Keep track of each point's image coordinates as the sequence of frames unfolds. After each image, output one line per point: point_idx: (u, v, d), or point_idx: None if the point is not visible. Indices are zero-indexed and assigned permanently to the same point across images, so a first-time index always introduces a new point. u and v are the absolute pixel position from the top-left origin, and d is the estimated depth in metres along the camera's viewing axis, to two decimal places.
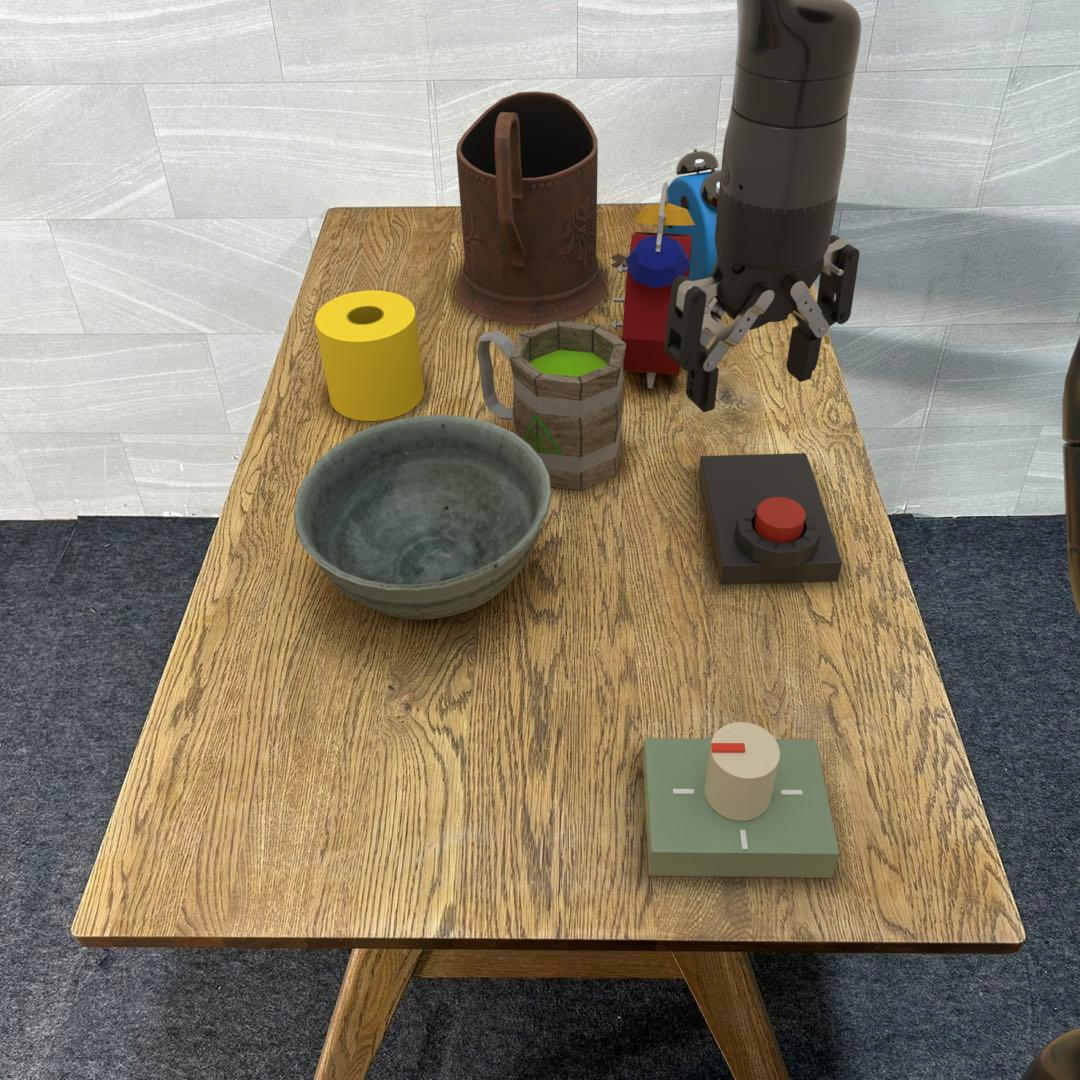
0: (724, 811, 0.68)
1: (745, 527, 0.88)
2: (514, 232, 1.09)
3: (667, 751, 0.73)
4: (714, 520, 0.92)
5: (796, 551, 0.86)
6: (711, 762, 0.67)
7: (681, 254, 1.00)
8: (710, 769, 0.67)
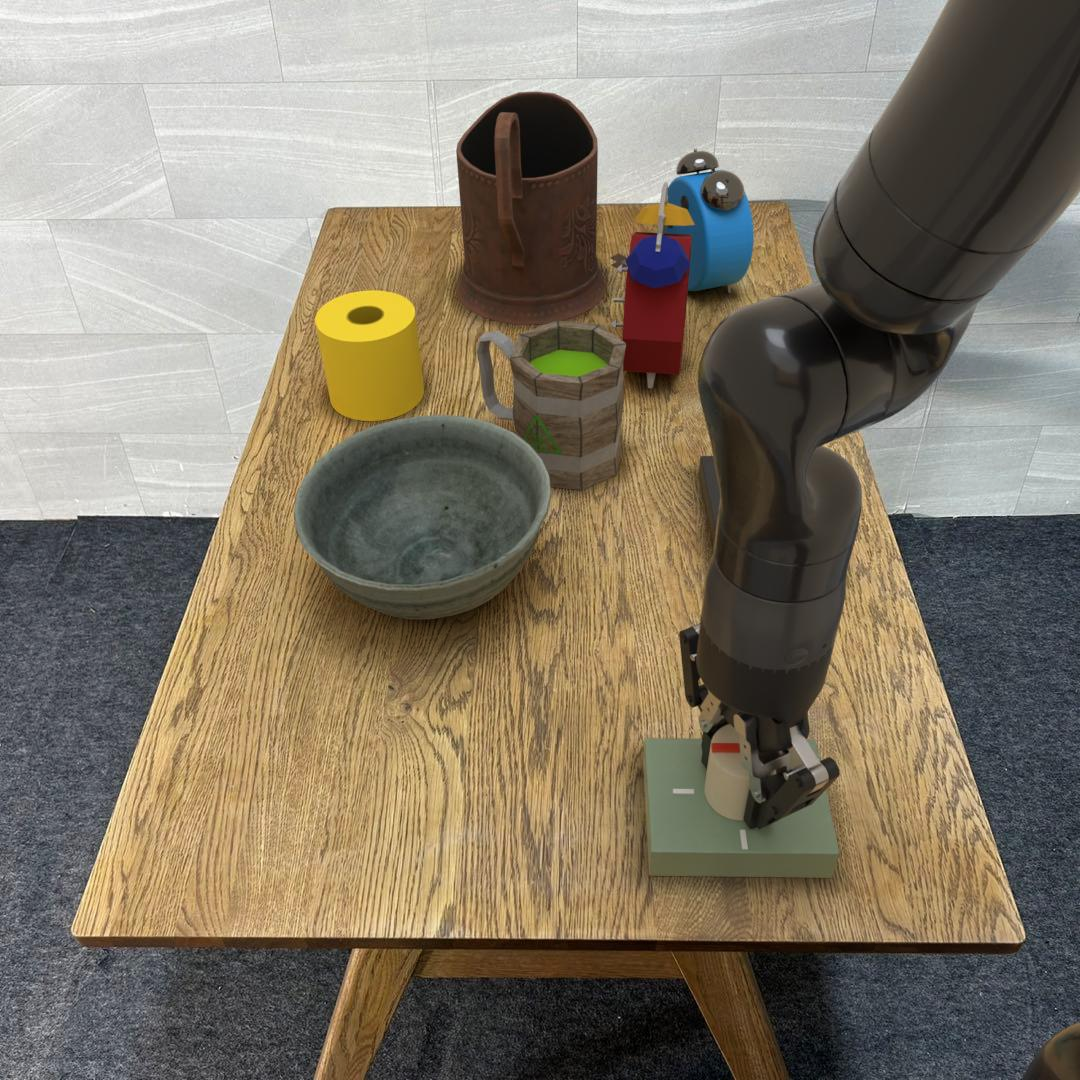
0: (724, 811, 0.68)
1: None
2: (514, 232, 1.09)
3: (667, 751, 0.73)
4: (714, 520, 0.92)
5: None
6: (711, 762, 0.67)
7: (681, 254, 1.00)
8: (710, 769, 0.67)
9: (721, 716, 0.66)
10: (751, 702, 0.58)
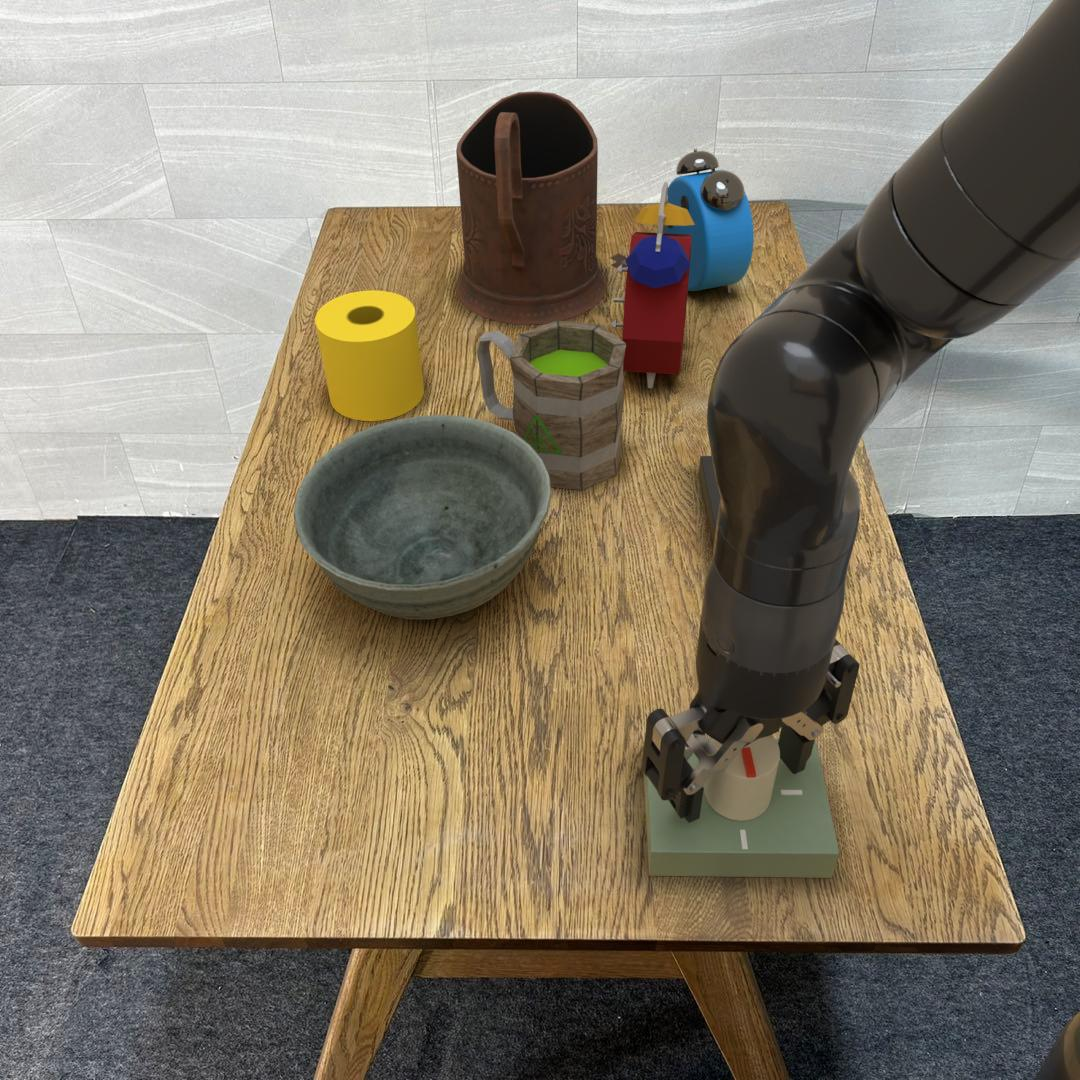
0: (769, 800, 0.69)
1: None
2: (514, 232, 1.09)
3: None
4: (714, 520, 0.92)
5: None
6: (758, 783, 0.66)
7: (681, 254, 1.00)
8: (757, 790, 0.66)
9: None
10: (827, 671, 0.60)
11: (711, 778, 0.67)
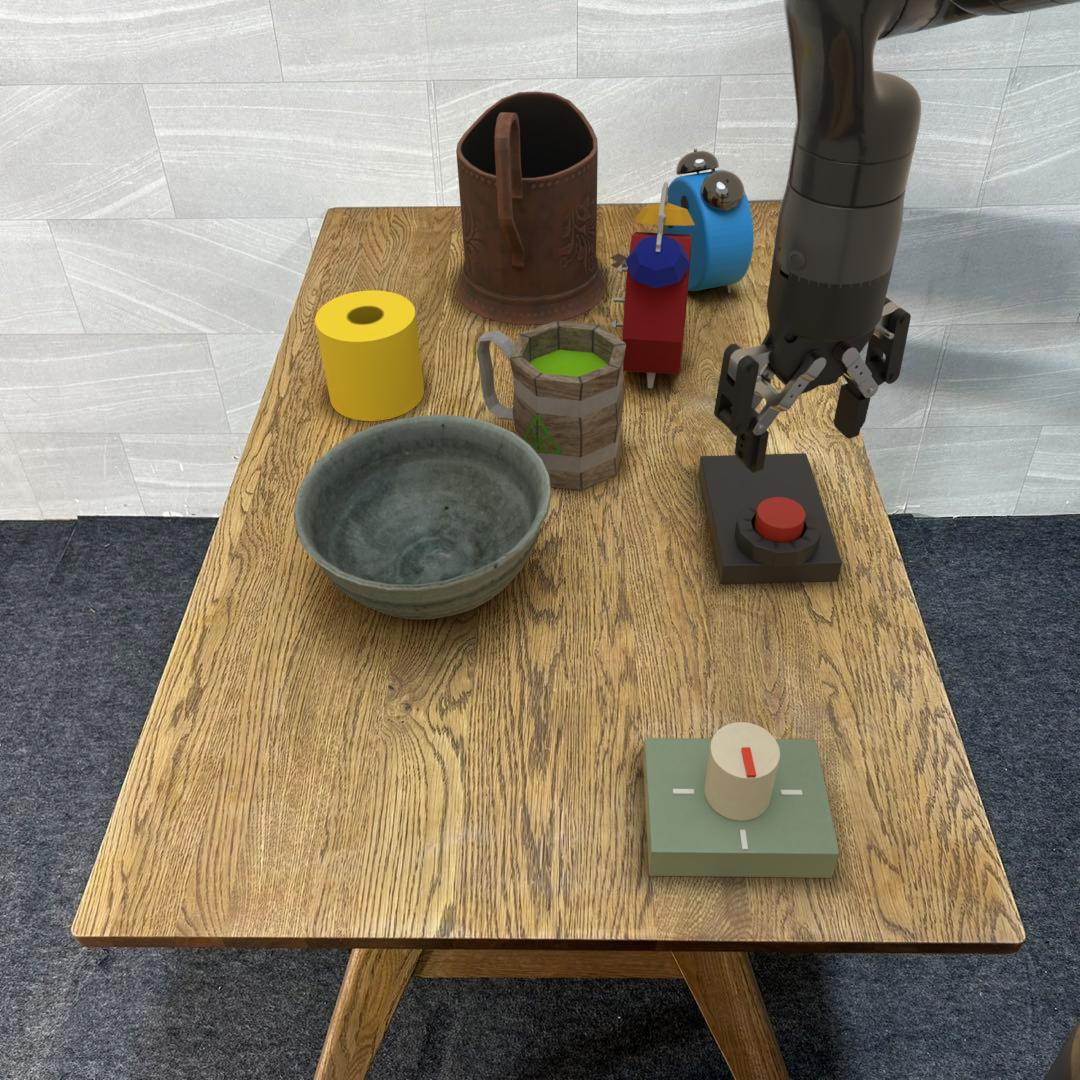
0: (769, 800, 0.69)
1: (745, 527, 0.88)
2: (514, 232, 1.09)
3: (667, 751, 0.73)
4: (714, 520, 0.92)
5: (796, 551, 0.86)
6: (758, 783, 0.66)
7: (681, 254, 1.00)
8: (757, 790, 0.66)
9: None
10: None
11: (711, 778, 0.67)
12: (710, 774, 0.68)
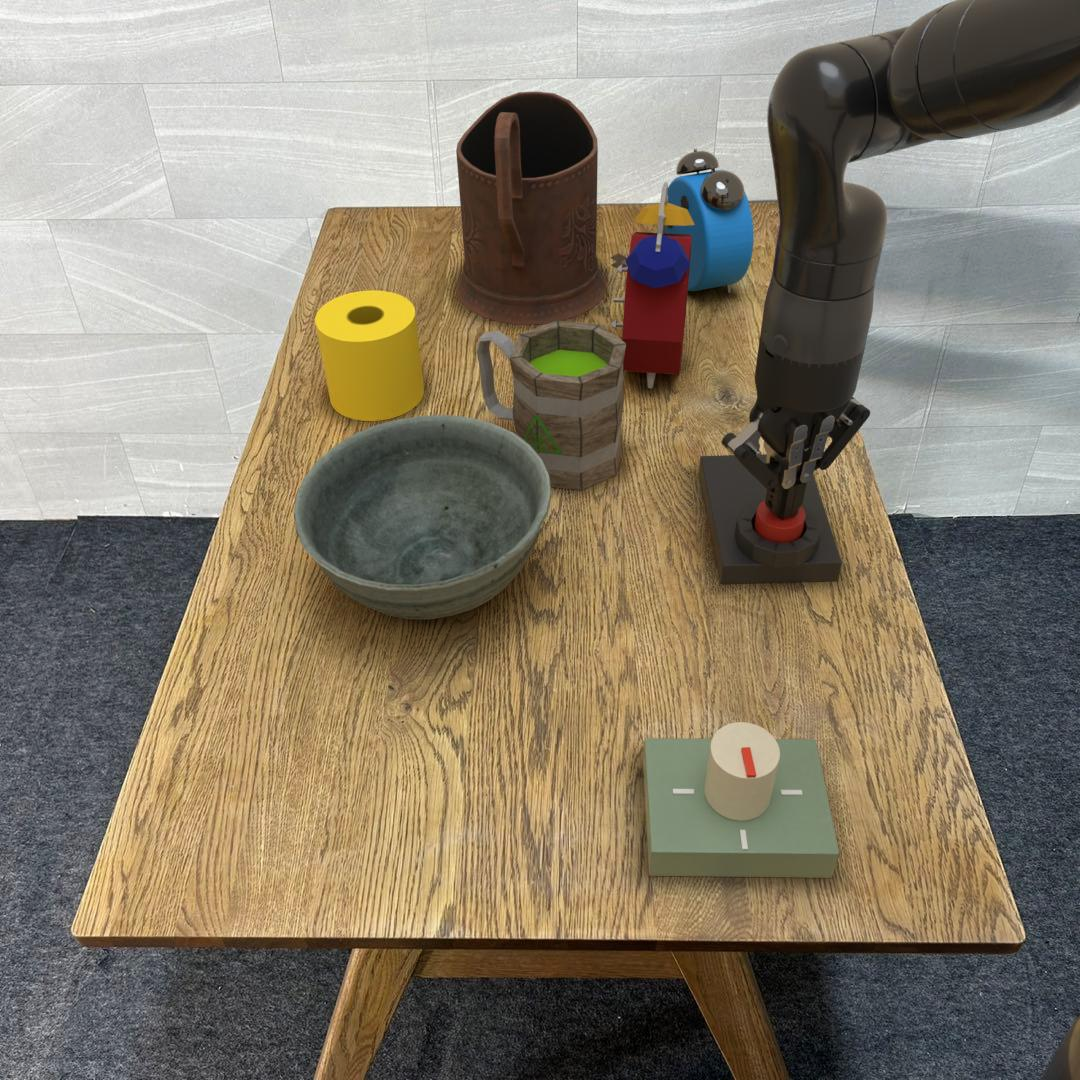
0: (769, 800, 0.69)
1: (745, 527, 0.88)
2: (514, 232, 1.09)
3: (667, 751, 0.73)
4: (714, 520, 0.92)
5: (796, 551, 0.86)
6: (758, 783, 0.66)
7: (681, 254, 1.00)
8: (757, 790, 0.66)
9: None
10: None
11: (711, 778, 0.67)
12: (710, 774, 0.68)
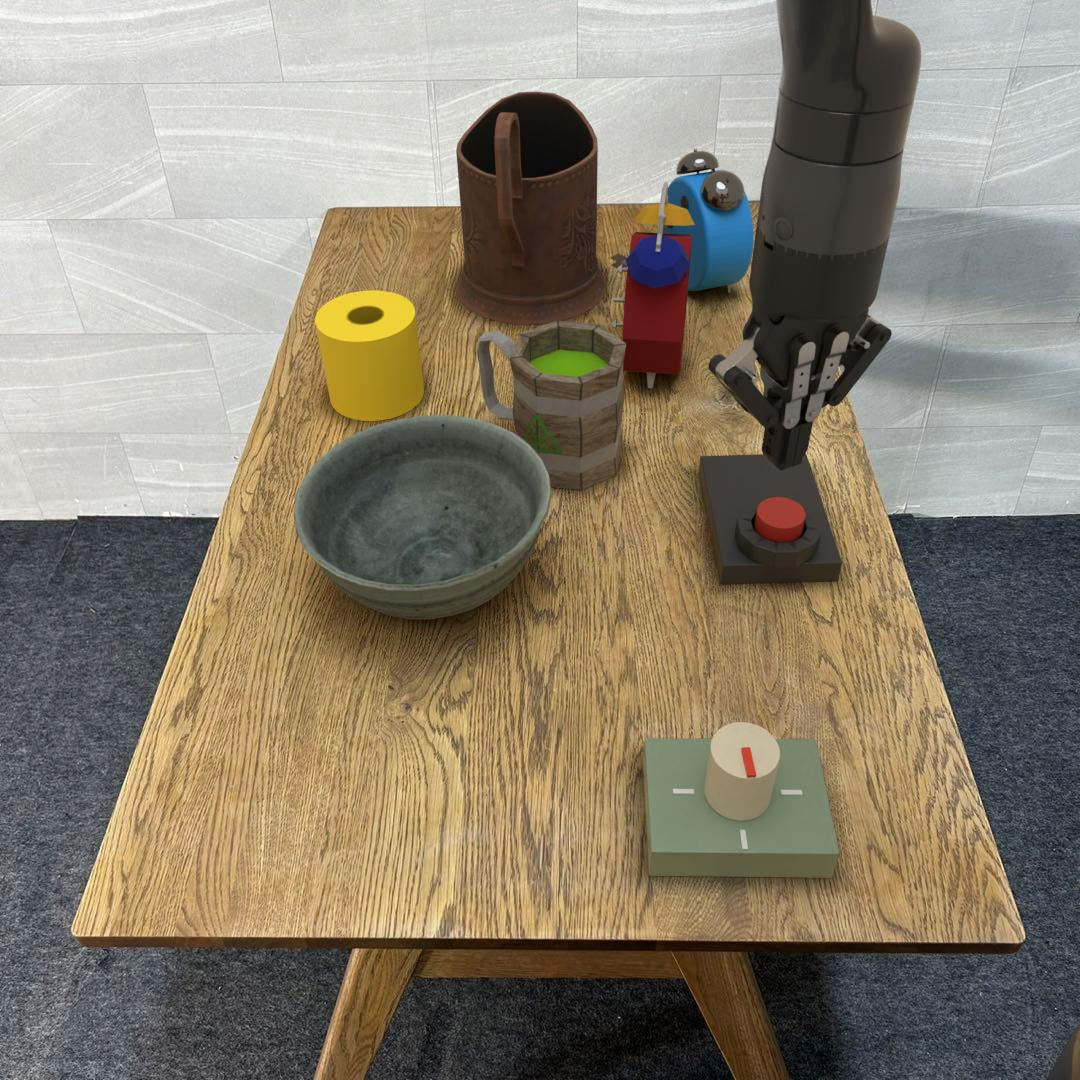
0: (769, 800, 0.69)
1: (745, 527, 0.88)
2: (514, 232, 1.09)
3: (667, 751, 0.73)
4: (714, 520, 0.92)
5: (796, 551, 0.86)
6: (758, 783, 0.66)
7: (681, 254, 1.00)
8: (757, 790, 0.66)
9: None
10: (879, 280, 0.61)
11: (711, 778, 0.67)
12: (710, 774, 0.68)
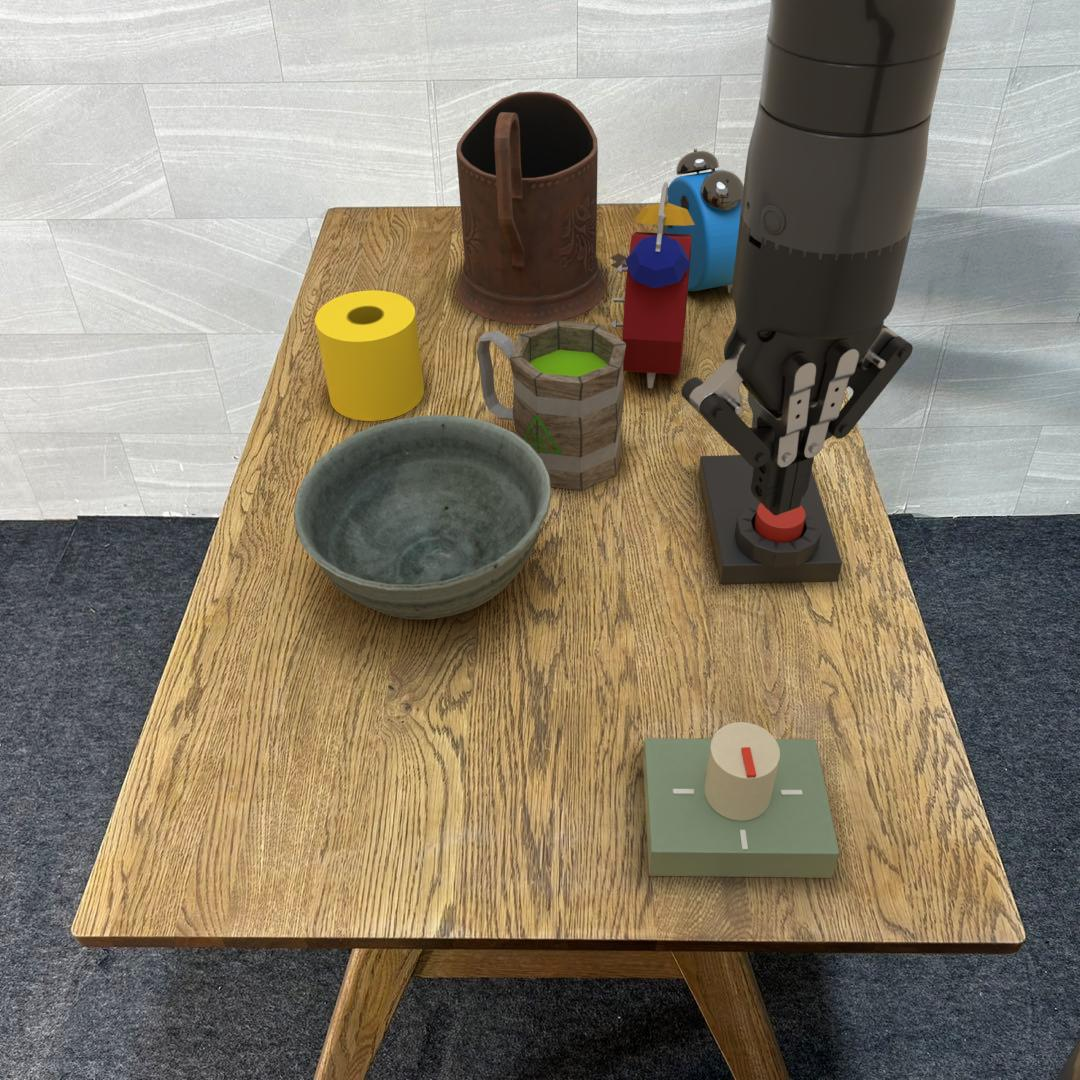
0: (769, 800, 0.69)
1: (745, 527, 0.88)
2: (514, 232, 1.09)
3: (667, 751, 0.73)
4: (714, 520, 0.92)
5: (796, 551, 0.86)
6: (758, 783, 0.66)
7: (681, 254, 1.00)
8: (757, 790, 0.66)
9: None
10: None
11: (711, 778, 0.67)
12: (710, 774, 0.68)
